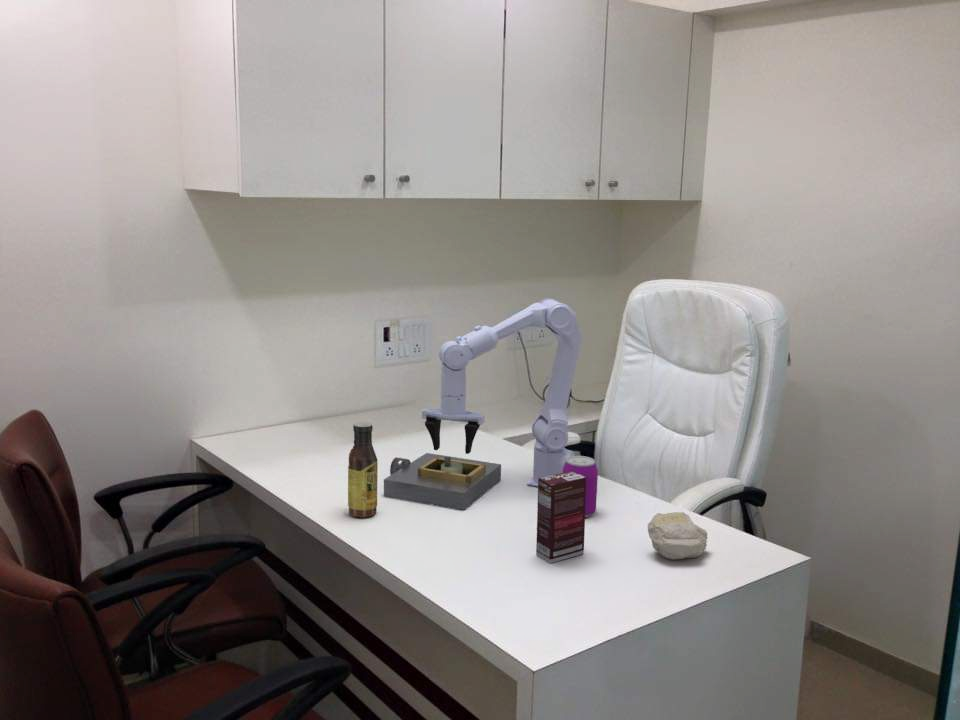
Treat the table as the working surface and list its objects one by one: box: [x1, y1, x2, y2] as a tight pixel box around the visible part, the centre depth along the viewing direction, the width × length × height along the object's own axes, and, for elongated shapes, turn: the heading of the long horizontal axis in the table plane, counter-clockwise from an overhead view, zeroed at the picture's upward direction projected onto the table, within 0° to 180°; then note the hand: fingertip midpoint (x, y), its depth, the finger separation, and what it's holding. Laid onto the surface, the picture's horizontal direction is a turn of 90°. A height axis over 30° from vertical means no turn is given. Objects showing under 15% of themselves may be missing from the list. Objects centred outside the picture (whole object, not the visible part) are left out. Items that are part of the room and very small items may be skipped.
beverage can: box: [563, 455, 599, 518], centre depth 189 cm, size 8×8×12 cm
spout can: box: [441, 456, 463, 474], centre depth 202 cm, size 5×5×8 cm
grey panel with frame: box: [383, 452, 502, 511], centre depth 204 cm, size 23×22×6 cm
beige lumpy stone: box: [647, 511, 708, 561], centre depth 169 cm, size 12×8×10 cm
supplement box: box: [535, 471, 586, 564], centre depth 167 cm, size 9×5×16 cm, turn 123°
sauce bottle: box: [347, 421, 379, 519], centre depth 185 cm, size 6×6×20 cm
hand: (452, 450), depth 201 cm, fingers open, 7 cm apart
